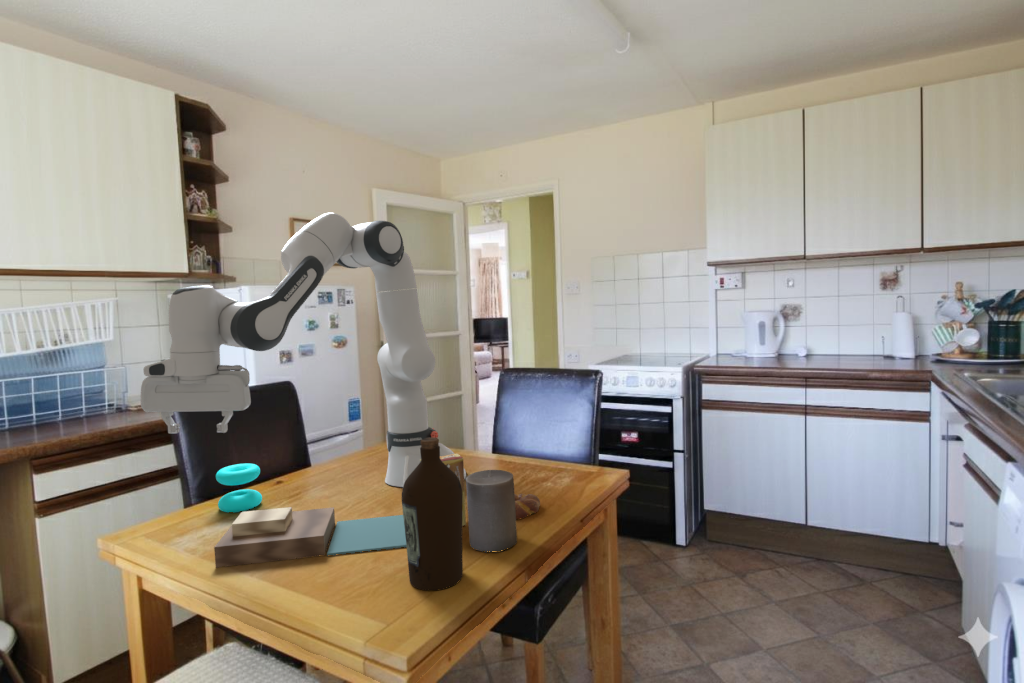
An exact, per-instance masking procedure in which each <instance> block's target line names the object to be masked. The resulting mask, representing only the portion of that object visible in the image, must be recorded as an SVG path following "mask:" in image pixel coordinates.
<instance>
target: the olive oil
mask: <svg viewBox="0 0 1024 683" xmlns="http://www.w3.org/2000/svg"><path fill="white" fill-rule="evenodd" d="M439 440H440V439H439V437H438V438H433V437H431V438H424V439H422V440H421V448H420V453H421V462H420V463H419V464H418V466H417V467H416V468H415V469H414V470H413V472H412V473H411V474H410V475H409V476H408V478H407V479H406V481H405V483H404V486H403V487H402V490H401V508H402V515H403V517H404V526H405V536H406V546H407V547H406V555H407V564H408V567H407V568H408V577H409V579H408V580H409V583H410V584H411V585H412V587H414V588H415V587H416V589H418V590H421V589H422V591H428V590H434V591H439V590H438V589H442V590H444V589H443V588H446V587H449V586H451V587H453V586H455V585H456V583H457V582H458V581H459V580H460V581H461V580H462V579H463V575H464V573H463V571H464V569H463V567H464V566H463V565H464V564H463V563H464V562H463V526H462V505H463V492H462V487H461V484H460V481H459V479H458V477H457V476H456V474H455V473H454V472H453V471H452V470H451V469H449V468H448V467H447V466H446V465H445V464H444V463H443V462H442V461H441V460H440V446H439V444H438V443H439V442H440V441H439ZM461 578H462V579H461ZM460 581H459V582H460ZM459 582H458V583H459ZM458 583H457V584H458ZM454 584H455V585H454ZM452 585H453V586H452ZM449 588H450V587H449ZM446 589H447V588H446Z"/></svg>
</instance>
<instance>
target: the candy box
mask: <svg viewBox="0 0 1024 683" xmlns="http://www.w3.org/2000/svg"><path fill="white" fill-rule="evenodd" d="M440 460H441V461H442V462H443V463H444V464H445V465H446V466H447V467H448V468H449V469H451V470H452V471H453V472H454V473H455V474H456V476H457V477H458V479H459V481H460V484H461V487H462V492H463V505H462V527H463V526H464V525H465V526H467V523H466V522H467V521H466V519H467V517H466V492H465V488H466V487H465V479H464V469H465V468H464V457H463V456H462V455H460V454H459V453H454V454H452V455H445V456H440ZM420 462H421V459H420ZM465 526H464V527H465Z"/></svg>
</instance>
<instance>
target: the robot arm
mask: <svg viewBox="0 0 1024 683" xmlns="http://www.w3.org/2000/svg"><path fill="white" fill-rule="evenodd" d="M280 260H281V263H282V267H283V268H284V270H285V271H286V272H287V274H286V275H285V277H284V278H283V279H282V280H281V281H280V282H279V284H278V285H277V286H276V287H274V289H273V290H272V291H271V292H270V293H269V294H268V295H267V296H265V297H263V298H261V299H259V300H256V301H255V300H254V301H250V302H249V301H239V300H236V299H234V298H231V297H229V296H228V295H227V296H226V295H225V294H222V293H221V292H219V291H218V290H217V289H215V288H214V286H213V285H209V284H204V285H203V284H201V285H200V284H199V285H194V286H193V285H191V286H185V287H181V288H178V289H176V290H174V291H173V293H171V296H170V300H169V304H168V306H169V308H168V332H169V333H170V337H171V338H170V339H171V343H170V348H169V358H164V359H162V360H160V361H157V362H154V363H150V364H147V365H145V366H144V367H143V375H144V376H145V378H144V379H143V380H142V382H141V386H140V407H141V409H142V410H143V411H144V412H145V413H160V416H161V419H162V421H163V422H164V423H165V424H166V426H167V433H168V434H170V435H171V434H179V433H180V431H181V430H180V429H181V428H180V423H176V422H175V420H174V419H173V417H172V416H175V415H174V412H175V413H176V412H178V413H179V412H181V413H182V412H183V413H184V412H186V413H187V412H221V416H222V417H223V420H222V421H221V422H219V423H217V424H216V433H217V434H218V433H223V434H225V433H227V432H228V430H229V429H228V427H229V426H228V425H229V424H228V423H229V422H230V420H231V418H232V417H233V416H234V412H239V411H245V410H246V409H249V407H250V406H251V403H252V399H251V390H250V386H249V384H250V379H251V378H250V371H249V370H248V369H247V368H246V367H243V366H242V365H241V364H235V365H227V364H221V354H220V353H221V350H220V347H221V346H222V345H224V346H228V347H235V348H244V349H247V350H251V351H254V352H255V351H256V352H266V351H269V350H271V349H274V348H275V347H276V346H278V344H279V343H281V342H282V340H283V338H284V337H285V335H286V332H287V330H288V328H289V324H290V322H291V320H293V317H294V316H295V314H296V313H297V312H298V310H299V309H300V308H301V307H302V306H303V305H304V303H305V301H306V300H307V299H308V298H309V297H310V296H311V294H312V293H313V292H314V291H315V290H316V288H317V287H318V286H319V285H320V283H321V281H322V279H323V277H324V276H325V275H326V273H327V272H328V271H329V270H330V269H332V267H333V266H334V265H335V264H336V263H337V264H338V265H339V266H341V267H343V268H346V269H358V268H359V269H360V268H369V269H370V270H371V272H372V273H373V277H374V283H375V284H374V285H375V287H374V288H375V295H376V301H377V302H376V304H377V311H378V320H379V323H380V325H381V327H382V329H383V332H384V335H385V339H386V343H385V344H383V345H382V346H381V347H380V348H379V350H378V351H377V356H376V358H377V359H376V360H377V363H378V364H377V365H378V367H379V370H380V375H381V381H382V387H383V391H384V395H385V401H386V412H387V416H386V417H387V430H386V447H387V452H388V458H387V459H388V461H387V467H386V468H387V469H386V475H385V478H384V482H385V484H387V485H389V486H393V487H398V488H399V487H400V488H403V486H404V483H405V481H406V479H407V478H408V476H409V475H410V474H411V473H412V472H413V470H414V469H415V468H416V467H417V466H418V464H419V463H420V459H421V453H420V448H421V440H422V439H424V438H431V437H433V438H438V439H439V433H438V431H437V430H436V429H435V428H433V427H430V426H429V416H428V415H429V414H428V413H429V412H428V400H427V396H426V394H425V392H424V389H423V385H422V381H423V380H426V379H428V378H429V377H430V376H431V375H432V374H433V372H434V371H435V367H436V358H435V354H434V353H433V351H432V349H431V348H430V344H429V342H428V338H427V334H426V331H425V327H424V325H423V321H422V318H421V311H420V310H421V309H420V304H419V303H420V302H419V296H418V289H417V288H418V286H417V280H416V274H415V271H414V267H413V264H412V260H411V258H410V255H409V254H408V253H407V252H405V246H404V240H403V236H402V233H401V232H400V230H399V228H398V227H397V226H396V225H395V224H394V223H393V222H390V221H388V220H373V221H369V222H362V223H358V224H356V225H350V222H348V220H347V219H346V218H345V217H344V216H342V215H340V214H338V213H335V212H326V213H323V214H321V215H319V216H318V217H316V218H314V219H312V220H311V221H310V222H308V223H307V224H305V225H304V226H303V227H302V228H301V229H299V230H298V231H297V232H295V234H294V235H293V236H292V237H290V239H289V240H288V241H287V242H286V243H285V244H284V246H283V248H282V250H281V251H280ZM438 444H439V446H440V456H445V455H452V454H455V452H454V451H453V450H452V449H451V448H449V447H447V446H446V445H445V444H443V443H441V442H440V441H439V443H438ZM466 472H467V471H466V469H465V468H464V480H465V479H466V477H467V473H466Z"/></svg>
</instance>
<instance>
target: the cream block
mask: <svg viewBox="0 0 1024 683" xmlns="http://www.w3.org/2000/svg"><path fill="white" fill-rule="evenodd" d="M292 511H293V507H292V506H289V507H278V508H269V509H258V510H257V509H256V510H246V511H242V512H240V513H239V515H238V516H237V517H236V518H235V520H233V522H232V523H231V526H232V535H233V537H234V536H243V535H253V534H263V533H272V532H282V531H286V530H287V528H288V526H289V524H290V522H291V520H292V519H293V518H292Z"/></svg>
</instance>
